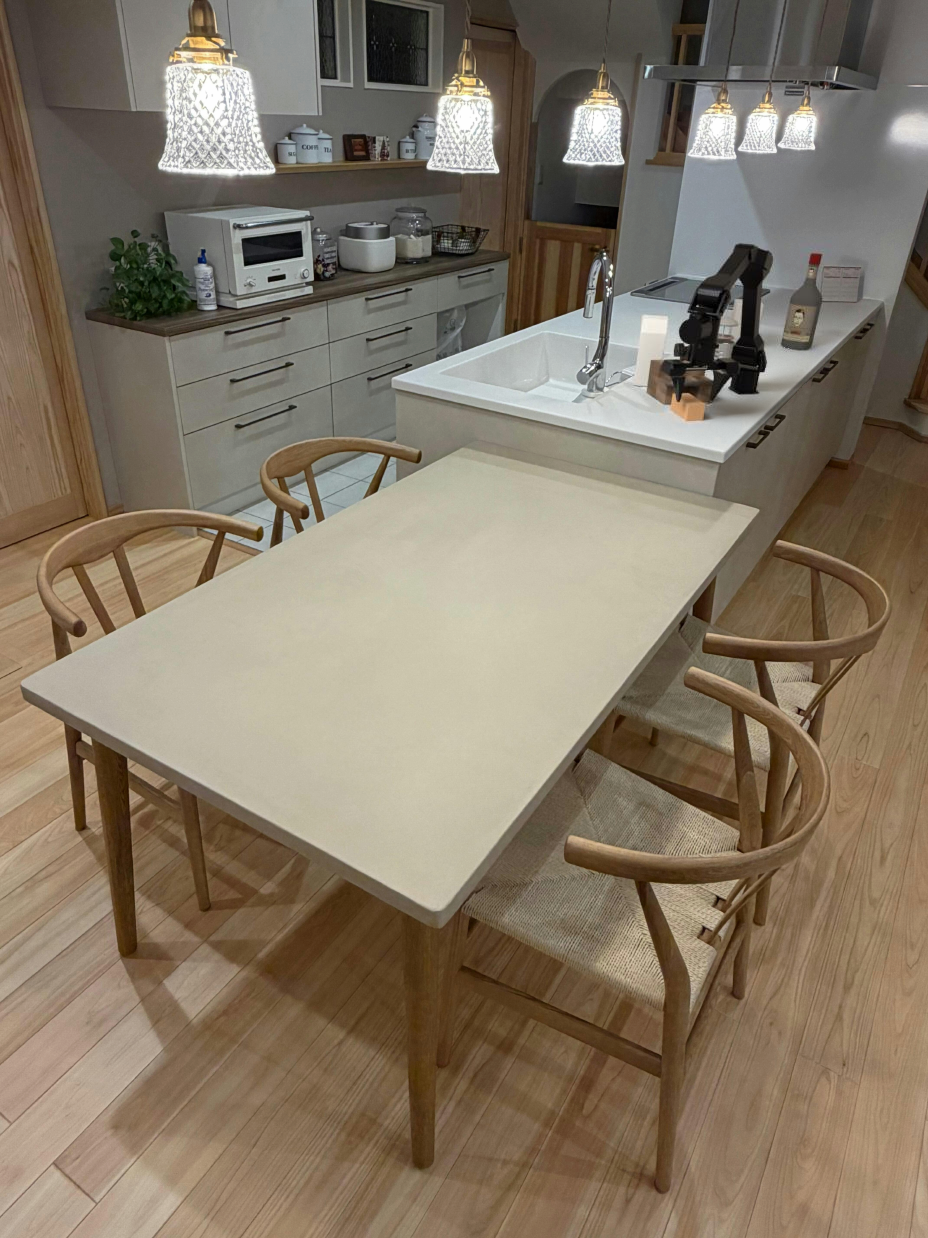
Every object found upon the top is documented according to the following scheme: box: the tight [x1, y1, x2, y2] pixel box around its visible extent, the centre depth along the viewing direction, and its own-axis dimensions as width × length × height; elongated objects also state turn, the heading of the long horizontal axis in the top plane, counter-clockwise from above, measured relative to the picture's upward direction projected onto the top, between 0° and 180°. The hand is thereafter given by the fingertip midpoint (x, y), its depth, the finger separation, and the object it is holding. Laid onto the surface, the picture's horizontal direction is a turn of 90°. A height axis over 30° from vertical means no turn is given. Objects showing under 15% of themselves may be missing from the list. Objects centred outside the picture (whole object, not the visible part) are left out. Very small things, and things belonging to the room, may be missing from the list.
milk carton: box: [633, 314, 669, 387], centre depth 240 cm, size 7×7×19 cm
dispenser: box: [646, 358, 713, 406], centre depth 230 cm, size 15×13×9 cm
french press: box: [706, 284, 739, 367], centre depth 258 cm, size 10×12×25 cm
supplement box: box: [728, 298, 765, 344], centre depth 287 cm, size 9×9×15 cm
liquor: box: [780, 252, 823, 351], centre depth 285 cm, size 9×9×30 cm
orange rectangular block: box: [670, 393, 707, 422], centre depth 218 cm, size 4×10×4 cm, turn 12°
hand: (694, 401), depth 213 cm, fingers open, 9 cm apart
